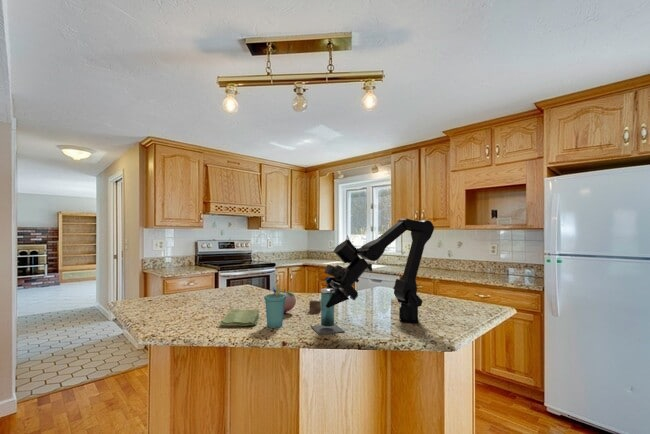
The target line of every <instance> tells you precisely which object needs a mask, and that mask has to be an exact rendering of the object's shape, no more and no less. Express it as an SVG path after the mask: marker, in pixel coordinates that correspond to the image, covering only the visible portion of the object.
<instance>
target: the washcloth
mask: <svg viewBox="0 0 650 434" xmlns="http://www.w3.org/2000/svg"><path fill="white" fill-rule="evenodd" d="M259 312H260V311H259V309H253V308H252V309H248V308H246V309H239V308H233V309H232V308H231V309H229V310H228V312H227V313H226V315H225V316H224V317H223V318H222V320H221V321H220V322H219V323H220V324H219V326H220V327H221V328H232V327H234V328H235V327H236V328H238V326H239V327H257V326H258V322H259V317H260V313H259Z"/></svg>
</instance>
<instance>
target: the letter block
mask: <svg viewBox="0 0 650 434" xmlns="http://www.w3.org/2000/svg"><path fill="white" fill-rule="evenodd" d="M309 313H321V298H311V299H310V300H309Z"/></svg>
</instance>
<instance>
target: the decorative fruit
mask: <svg viewBox="0 0 650 434" xmlns="http://www.w3.org/2000/svg"><path fill="white" fill-rule="evenodd" d="M280 294H283V295H285V296H286V299H285V303H284V313H283V314H286V313H288V312H289V311H291V310H292V309H293V308H294V307H295V305H296V303H297V298H296V295H295V294H294V292H292V291H286V289H284V290H280Z"/></svg>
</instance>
